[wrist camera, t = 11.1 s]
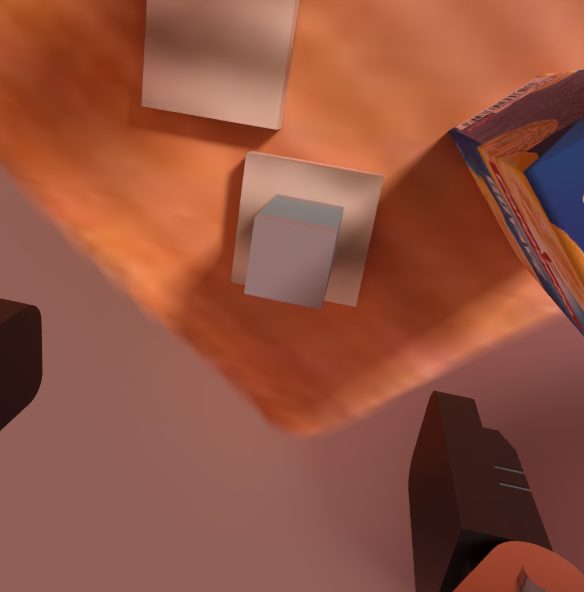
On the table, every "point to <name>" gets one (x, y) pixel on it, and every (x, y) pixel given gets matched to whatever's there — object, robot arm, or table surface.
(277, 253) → the block
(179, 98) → the stand
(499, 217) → the blue food carton
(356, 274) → the stand
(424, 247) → the table surface
